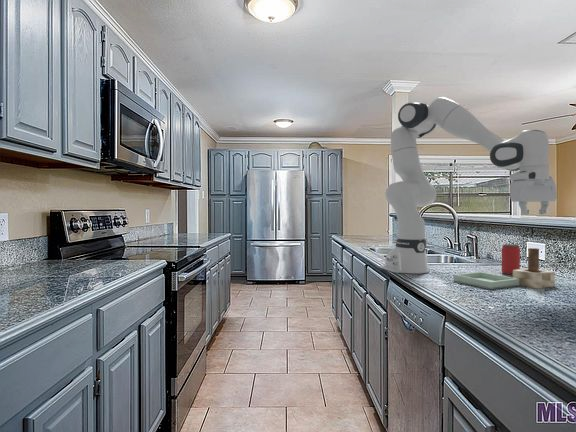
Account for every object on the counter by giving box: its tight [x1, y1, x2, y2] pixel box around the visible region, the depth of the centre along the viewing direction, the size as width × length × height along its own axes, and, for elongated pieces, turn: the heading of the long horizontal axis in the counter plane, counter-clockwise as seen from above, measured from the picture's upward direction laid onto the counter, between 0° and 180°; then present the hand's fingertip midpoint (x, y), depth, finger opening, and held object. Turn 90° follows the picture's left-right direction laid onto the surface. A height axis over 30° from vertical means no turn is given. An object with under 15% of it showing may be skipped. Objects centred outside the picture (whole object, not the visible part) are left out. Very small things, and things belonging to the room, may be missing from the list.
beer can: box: [501, 243, 521, 276], centre depth 158 cm, size 7×7×12 cm
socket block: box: [512, 267, 556, 289], centre depth 135 cm, size 9×9×5 cm
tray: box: [453, 271, 520, 290], centre depth 138 cm, size 16×14×2 cm
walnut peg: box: [527, 247, 540, 272], centre depth 135 cm, size 3×3×13 cm
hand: (534, 214), depth 134 cm, fingers open, 8 cm apart
